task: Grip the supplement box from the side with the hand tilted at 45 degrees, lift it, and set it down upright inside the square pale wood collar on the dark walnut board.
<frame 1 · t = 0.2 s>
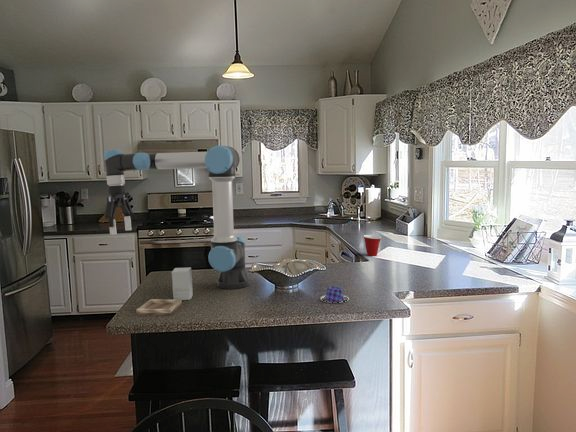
hand: (121, 232, 212), 27 cm above the counter, tool pointing down, fingers open, 13 cm apart
plastic cup: (372, 255, 284), on the counter
supplement box: (183, 298, 203), on the counter
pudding: (334, 300, 196), on the counter
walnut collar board: (160, 309, 187), on the counter
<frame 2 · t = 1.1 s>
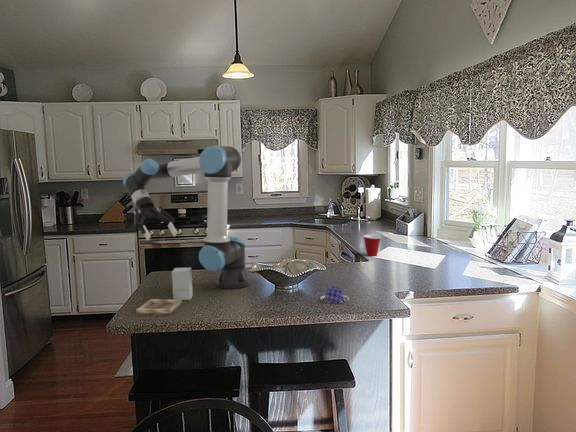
hand: (162, 236, 209), 25 cm above the counter, tool tilted 45°, fingers open, 13 cm apart
nothing on the counter moved.
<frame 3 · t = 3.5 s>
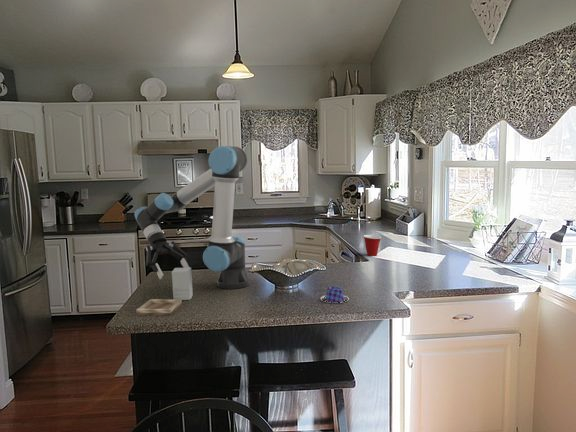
hand: (175, 274, 204), 10 cm above the counter, tool tilted 45°, fingers open, 13 cm apart
nothing on the counter moved.
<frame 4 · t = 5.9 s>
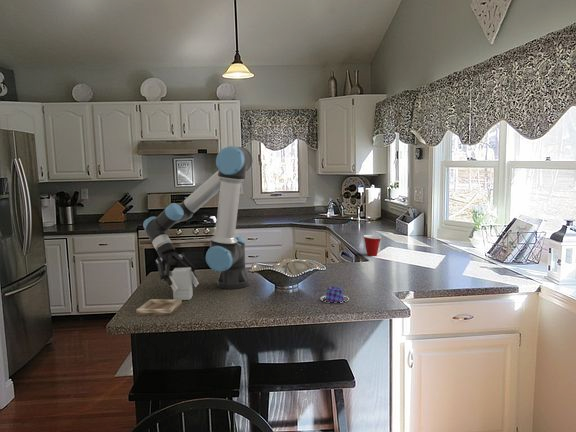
hand: (186, 287, 200), 5 cm above the counter, tool tilted 45°, fingers closed on supplement box, 10 cm apart
supplement box: (183, 298, 203), on the counter, touching gripper
everything else where it was.
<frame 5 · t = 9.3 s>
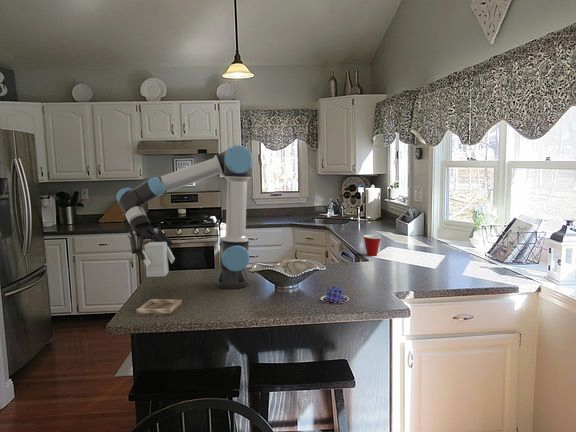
hand: (161, 263, 183), 19 cm above the counter, tool tilted 45°, fingers closed on supplement box, 10 cm apart
supplement box: (157, 275, 186), point 14 cm above the counter, touching gripper
everything else where it was.
when the fingers open (7 cm above the counter, at t = 13.1 s): supplement box drops 1 cm, resting on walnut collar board.
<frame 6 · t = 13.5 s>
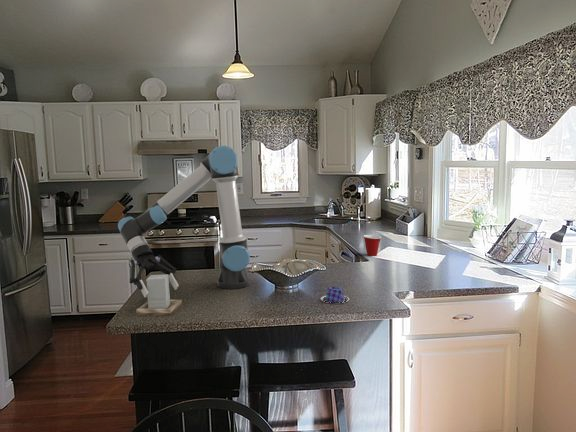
hand: (162, 291, 185), 8 cm above the counter, tool tilted 45°, fingers open, 13 cm apart
supplement box: (159, 307, 187), point 1 cm above the counter, touching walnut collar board
everything else where it was.
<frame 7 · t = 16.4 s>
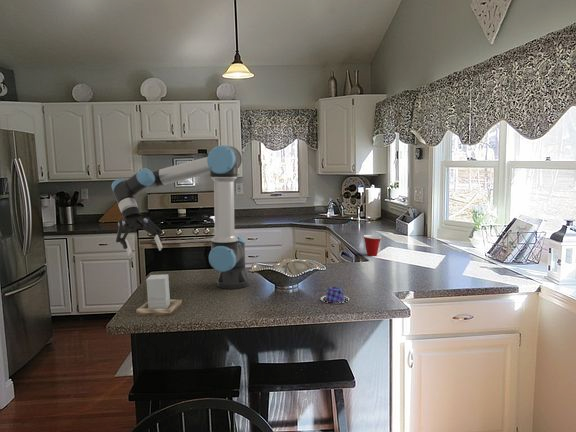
hand: (146, 251, 198), 21 cm above the counter, tool tilted 40°, fingers open, 13 cm apart
nothing on the counter moved.
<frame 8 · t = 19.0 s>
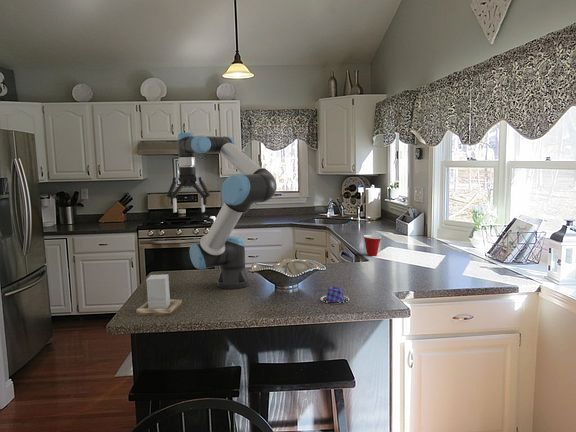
hand: (189, 212, 221), 35 cm above the counter, tool pointing down, fingers open, 13 cm apart
at the end: supplement box 0.2 cm off-centre on the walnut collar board, point 0.6 cm above the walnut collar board's base; supplement box tilted 0°; the gripper is holding nothing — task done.
